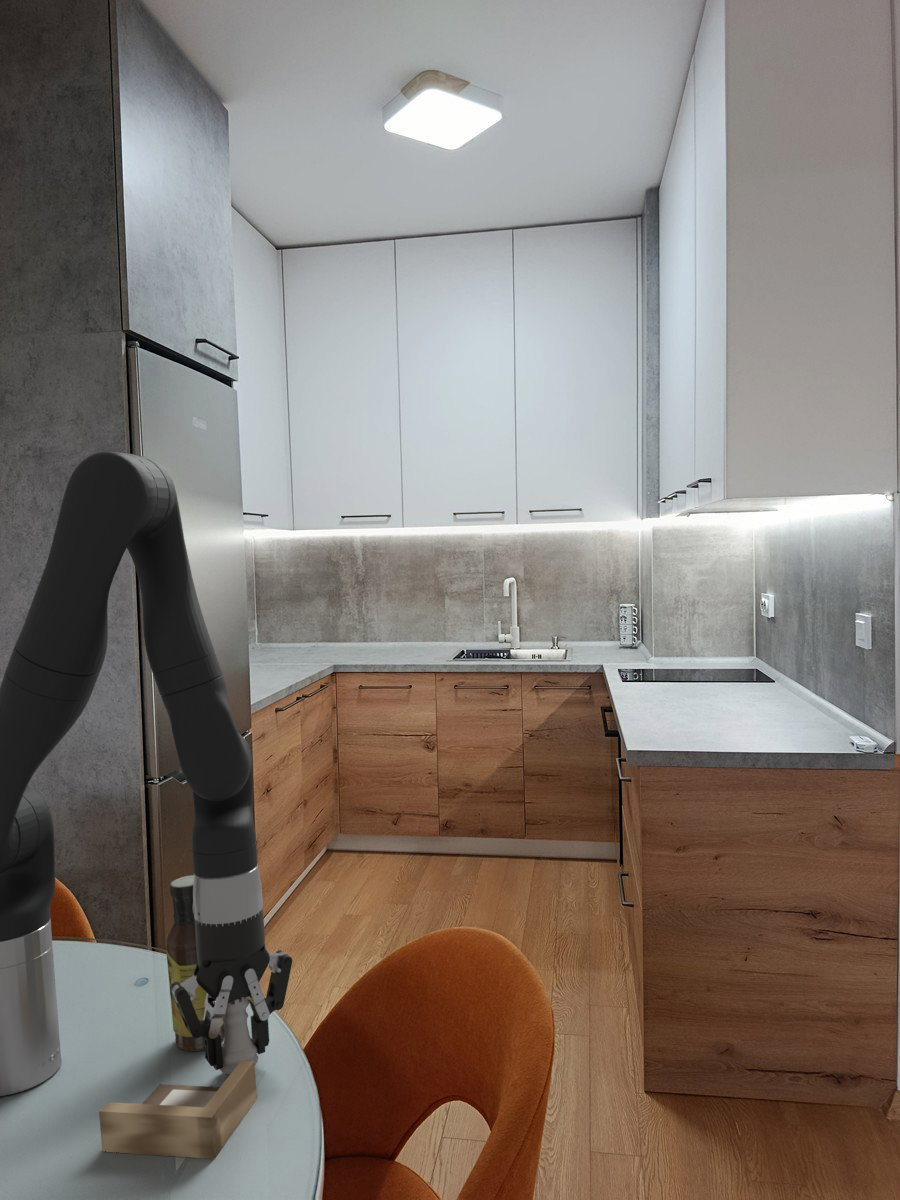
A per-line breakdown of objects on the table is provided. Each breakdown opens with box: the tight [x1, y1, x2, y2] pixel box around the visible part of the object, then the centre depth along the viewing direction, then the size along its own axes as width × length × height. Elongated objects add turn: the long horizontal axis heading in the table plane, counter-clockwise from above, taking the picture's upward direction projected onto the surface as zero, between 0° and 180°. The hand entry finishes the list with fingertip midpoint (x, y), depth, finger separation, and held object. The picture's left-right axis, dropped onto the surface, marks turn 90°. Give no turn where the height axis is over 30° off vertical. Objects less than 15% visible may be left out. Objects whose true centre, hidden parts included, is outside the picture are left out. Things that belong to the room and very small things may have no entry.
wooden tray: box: [98, 1061, 258, 1160], centre depth 89 cm, size 12×11×4 cm
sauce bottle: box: [165, 874, 225, 1052], centre depth 105 cm, size 6×6×20 cm
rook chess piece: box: [219, 997, 260, 1076], centre depth 97 cm, size 4×4×8 cm
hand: (238, 1057), depth 97 cm, fingers closed on rook chess piece, 4 cm apart
